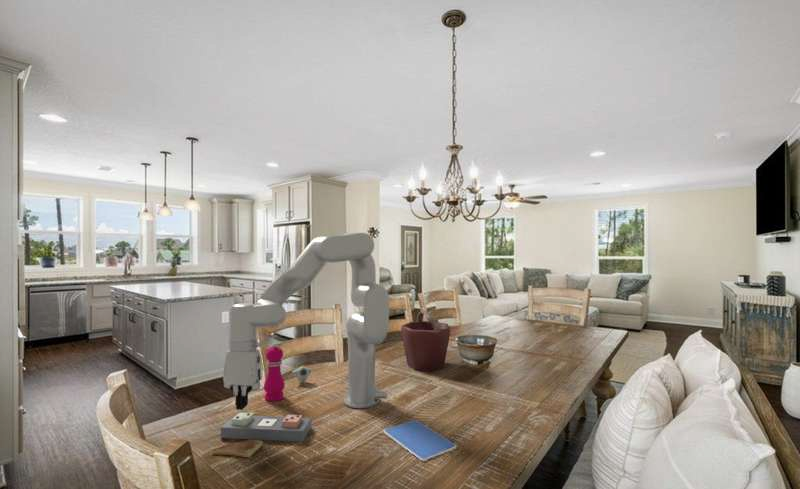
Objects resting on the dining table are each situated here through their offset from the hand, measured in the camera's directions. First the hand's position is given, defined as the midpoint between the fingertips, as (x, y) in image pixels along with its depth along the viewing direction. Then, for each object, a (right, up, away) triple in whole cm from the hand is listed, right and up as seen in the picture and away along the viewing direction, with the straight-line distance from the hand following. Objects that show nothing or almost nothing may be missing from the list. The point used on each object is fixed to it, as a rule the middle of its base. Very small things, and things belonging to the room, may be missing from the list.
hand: (241, 407), depth 111 cm
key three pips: (+15, -5, -1) cm, 16 cm away
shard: (+4, -8, -11) cm, 14 cm away
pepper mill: (+1, -8, +25) cm, 26 cm away
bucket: (+58, -8, +64) cm, 87 cm away
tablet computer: (+52, -8, -4) cm, 53 cm away
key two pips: (0, -5, 0) cm, 5 cm away
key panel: (+8, -7, 0) cm, 11 cm away
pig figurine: (+7, -8, +41) cm, 42 cm away
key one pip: (+8, -6, 0) cm, 10 cm away
